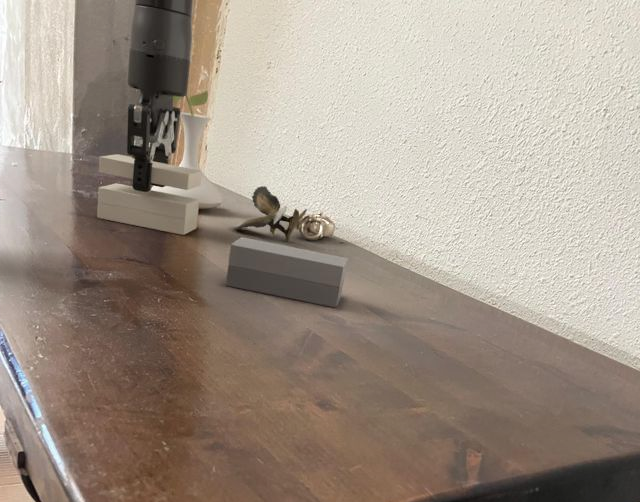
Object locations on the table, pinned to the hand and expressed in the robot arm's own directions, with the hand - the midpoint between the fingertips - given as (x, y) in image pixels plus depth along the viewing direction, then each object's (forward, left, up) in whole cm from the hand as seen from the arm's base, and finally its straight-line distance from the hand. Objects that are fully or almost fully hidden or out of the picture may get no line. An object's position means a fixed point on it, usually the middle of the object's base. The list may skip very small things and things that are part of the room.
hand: (149, 188), depth 100 cm
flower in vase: (-1, +19, -5) cm, 20 cm away
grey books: (+23, -22, -5) cm, 32 cm away
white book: (0, 0, +1) cm, 1 cm away
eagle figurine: (+15, +8, -5) cm, 18 cm away
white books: (0, 0, -5) cm, 5 cm away
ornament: (+21, +14, -5) cm, 26 cm away
